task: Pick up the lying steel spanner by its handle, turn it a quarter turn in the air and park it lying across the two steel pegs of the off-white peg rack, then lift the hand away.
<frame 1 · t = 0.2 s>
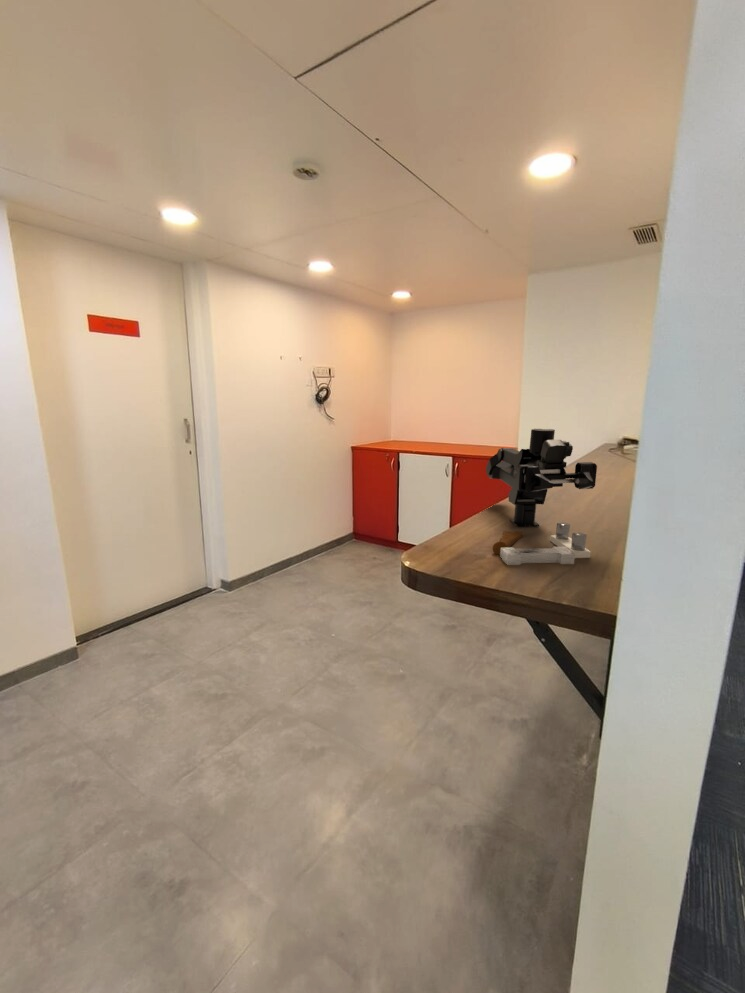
hand: (572, 484, 99), 17 cm above the counter, tool horizontal, fingers open, 9 cm apart
spanner: (536, 560, 100), on the counter
peg rack: (569, 548, 107), on the counter
primitive tool: (506, 545, 112), on the counter
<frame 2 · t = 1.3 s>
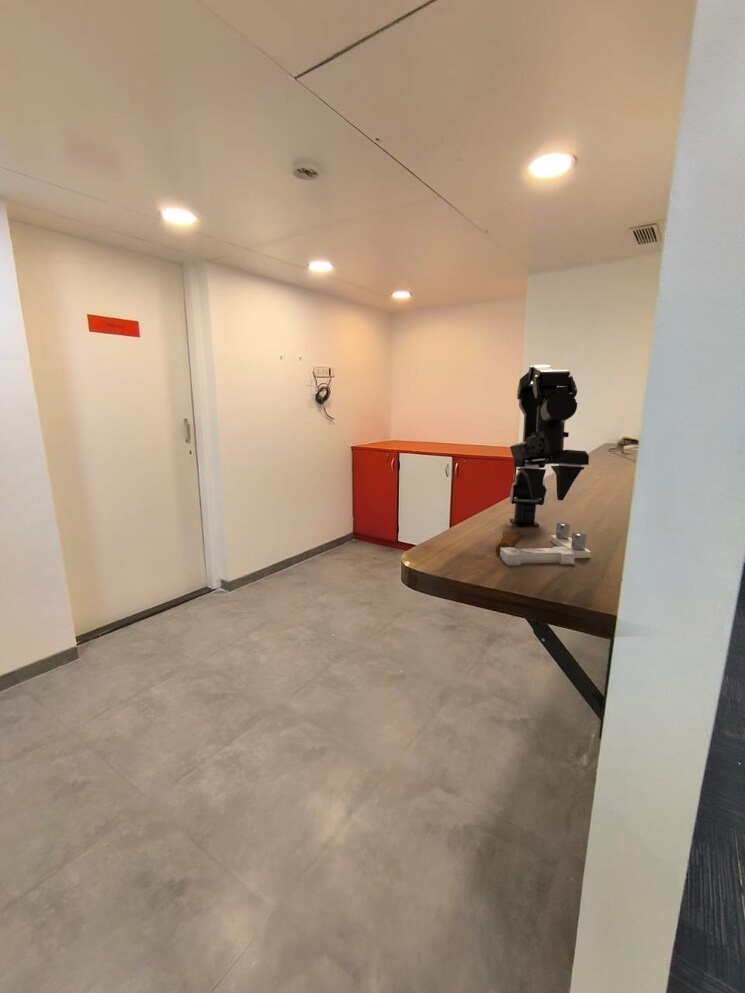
hand: (546, 499, 97), 14 cm above the counter, tool pointing down, fingers open, 9 cm apart
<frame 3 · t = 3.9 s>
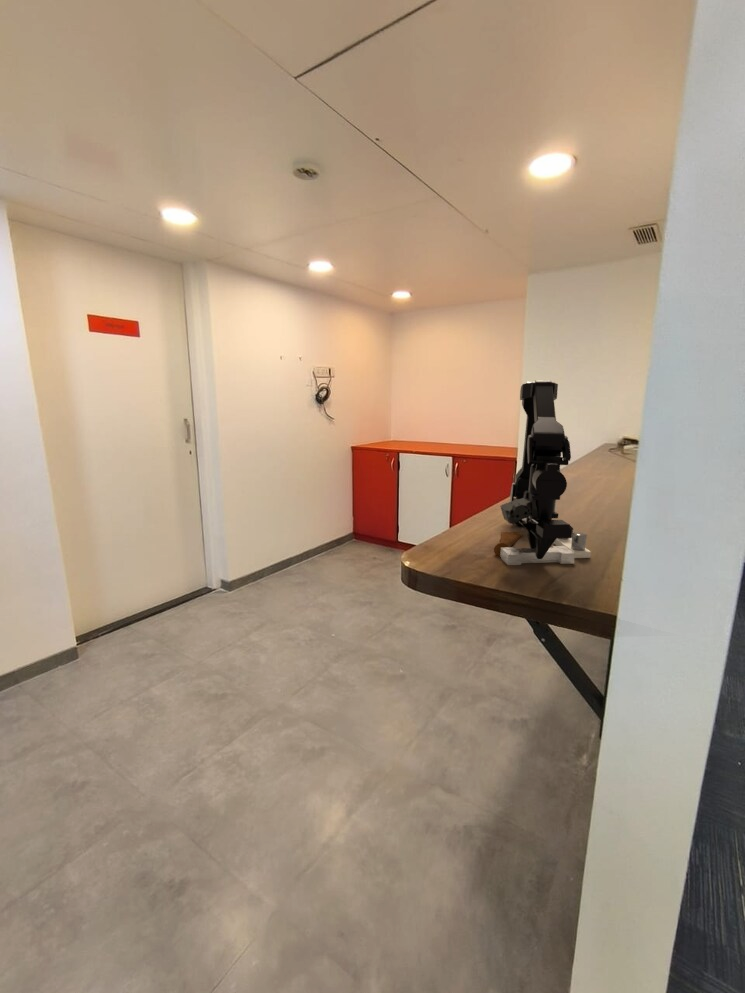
hand: (536, 556, 100), 1 cm above the counter, tool pointing down, fingers closed on spanner, 3 cm apart
spanner: (536, 560, 100), on the counter, touching gripper
when the fingers open (7 cm above the counter, at t = 7.5 s): spanner drops 1 cm, resting on peg rack.
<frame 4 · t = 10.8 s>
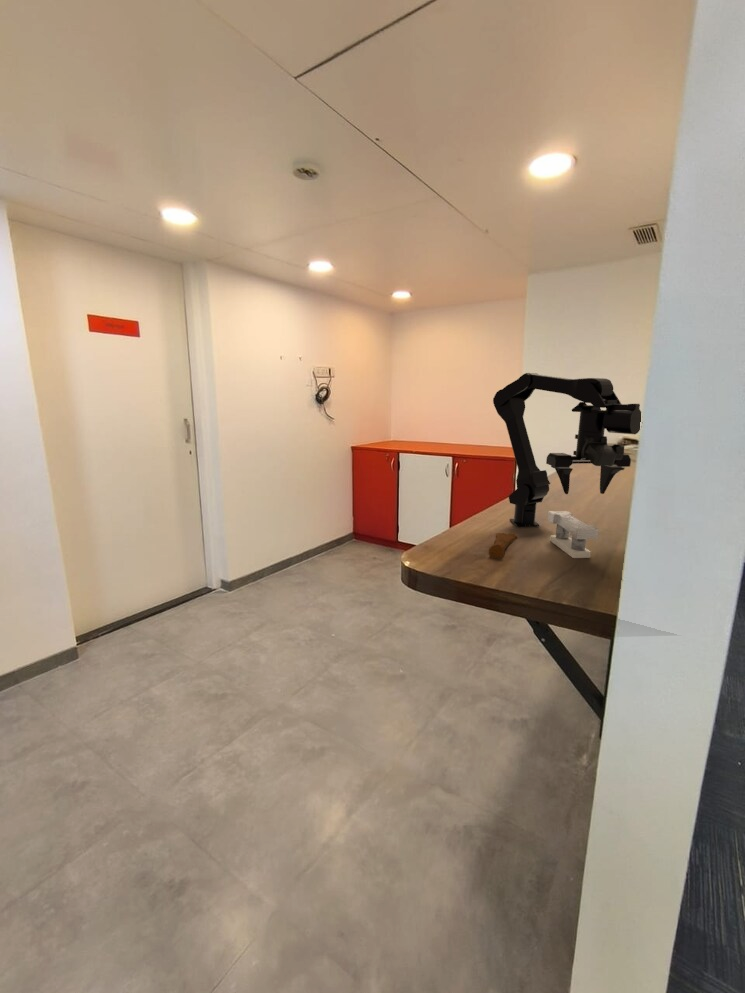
hand: (584, 493, 111), 12 cm above the counter, tool pointing down, fingers open, 9 cm apart
spanner: (570, 529, 106), point 5 cm above the counter, touching peg rack
primitive tool: (500, 547, 110), on the counter
at the end: spanner inside the target area (0.1 cm from its centre), point 5.0 cm above the counter; spanner tilted 0°; the gripper is holding nothing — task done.
